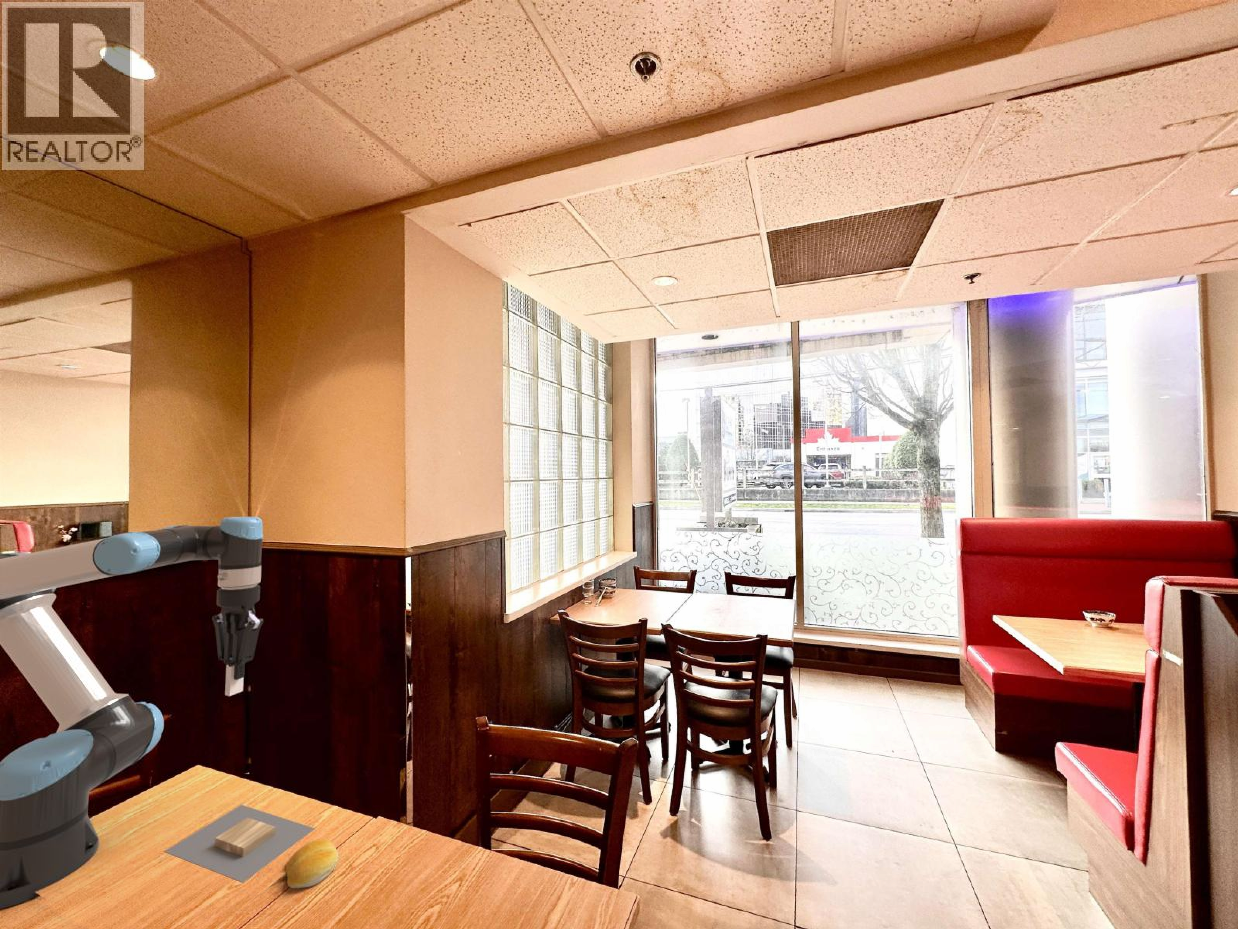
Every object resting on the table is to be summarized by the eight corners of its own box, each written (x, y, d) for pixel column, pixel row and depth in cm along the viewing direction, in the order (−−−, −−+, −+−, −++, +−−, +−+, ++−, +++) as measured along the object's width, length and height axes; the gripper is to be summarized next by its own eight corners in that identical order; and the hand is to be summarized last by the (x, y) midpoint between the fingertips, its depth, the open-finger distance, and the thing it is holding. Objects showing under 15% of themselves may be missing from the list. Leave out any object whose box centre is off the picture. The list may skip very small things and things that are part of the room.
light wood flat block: (215, 838, 92) (243, 848, 90) (247, 817, 98) (275, 826, 95) (214, 846, 92) (243, 857, 90) (247, 825, 98) (274, 835, 95)
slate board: (163, 857, 91) (163, 851, 91) (241, 810, 104) (241, 804, 104) (242, 889, 84) (243, 882, 84) (314, 834, 97) (315, 828, 97)
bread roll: (289, 899, 82) (290, 876, 82) (283, 868, 89) (284, 846, 89) (342, 874, 88) (343, 852, 88) (333, 846, 94) (334, 826, 95)
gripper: (200, 587, 103) (194, 695, 102) (241, 592, 99) (236, 705, 98) (237, 580, 110) (232, 682, 109) (277, 585, 106) (272, 690, 105)
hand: (234, 693), depth 104 cm, fingers closed
